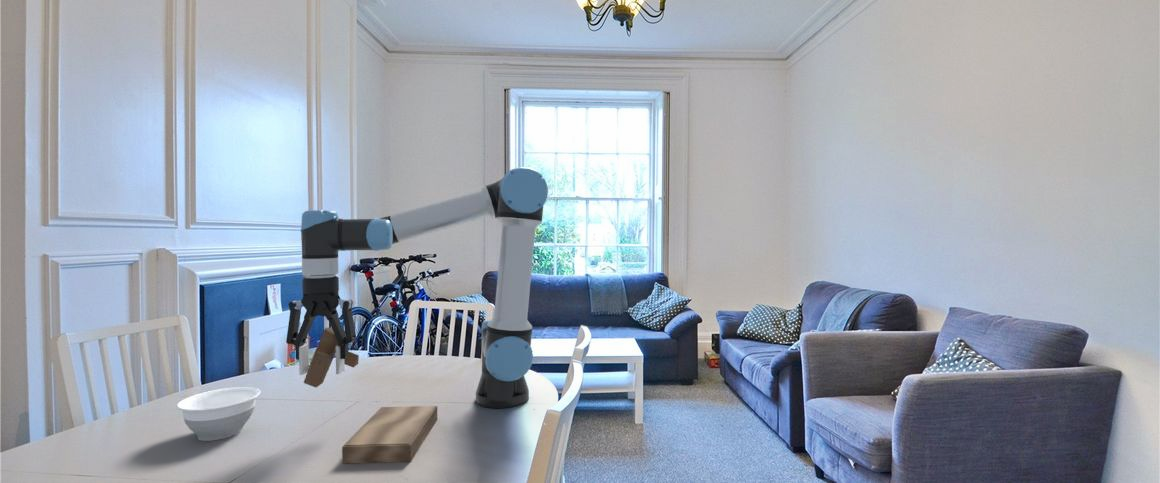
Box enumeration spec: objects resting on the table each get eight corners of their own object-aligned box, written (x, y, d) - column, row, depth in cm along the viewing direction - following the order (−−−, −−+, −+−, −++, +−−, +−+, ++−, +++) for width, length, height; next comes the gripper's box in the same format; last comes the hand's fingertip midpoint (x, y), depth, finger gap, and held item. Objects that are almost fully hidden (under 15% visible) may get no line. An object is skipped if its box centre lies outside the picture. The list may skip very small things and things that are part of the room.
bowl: (276, 424, 117) (276, 390, 117) (207, 452, 102) (207, 413, 102) (232, 416, 122) (231, 383, 122) (160, 441, 107) (159, 404, 107)
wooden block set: (321, 398, 102) (339, 355, 101) (282, 383, 101) (300, 340, 101) (355, 370, 120) (371, 333, 119) (323, 357, 119) (338, 320, 118)
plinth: (437, 419, 120) (437, 405, 119) (410, 461, 98) (410, 444, 98) (381, 420, 119) (381, 406, 119) (342, 463, 97) (342, 446, 97)
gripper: (371, 274, 114) (372, 367, 114) (285, 275, 113) (286, 369, 113) (358, 277, 106) (360, 376, 107) (265, 278, 105) (267, 378, 106)
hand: (322, 372), depth 110 cm, fingers closed on wooden block set, 8 cm apart
